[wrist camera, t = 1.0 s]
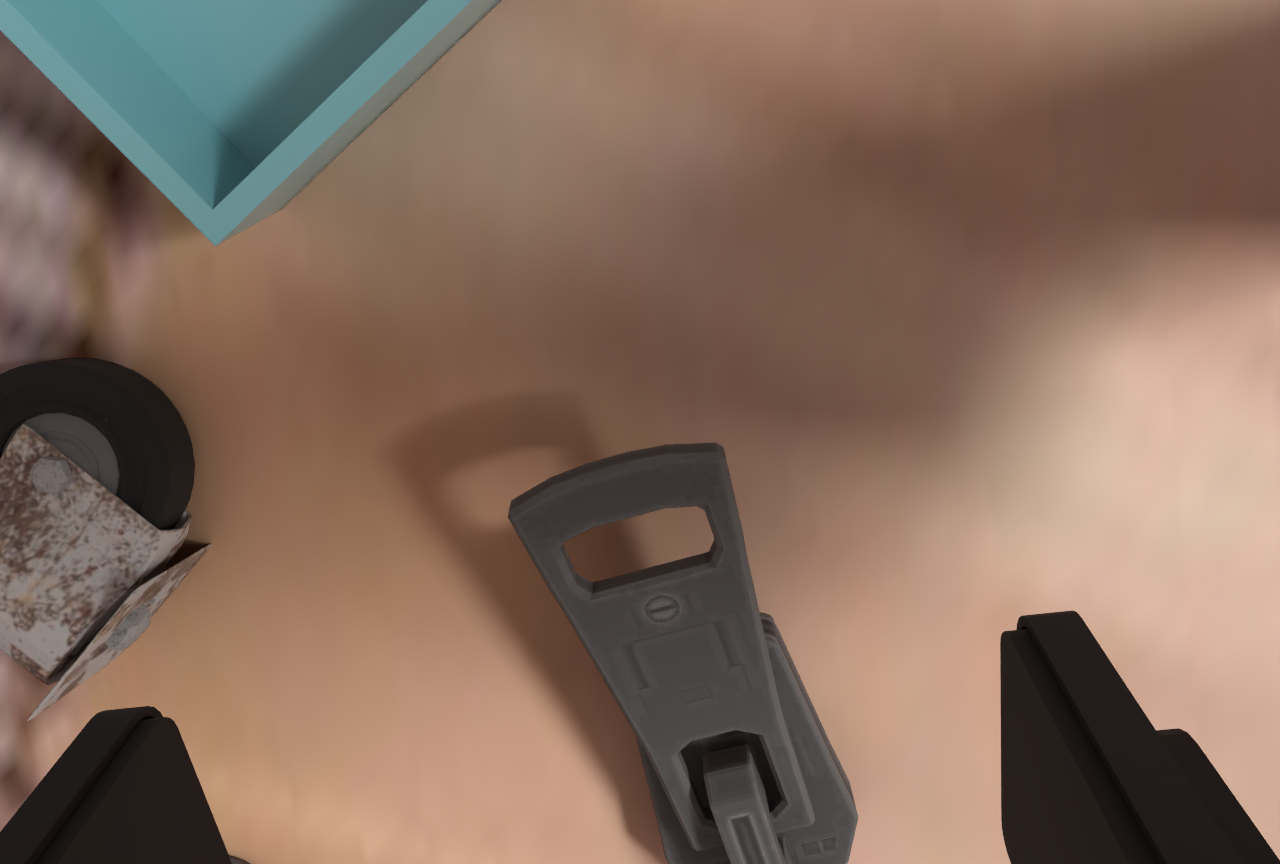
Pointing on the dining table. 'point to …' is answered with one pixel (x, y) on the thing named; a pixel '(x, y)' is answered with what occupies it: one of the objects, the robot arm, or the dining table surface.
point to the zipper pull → (696, 667)
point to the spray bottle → (237, 860)
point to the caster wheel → (87, 514)
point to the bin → (234, 85)
